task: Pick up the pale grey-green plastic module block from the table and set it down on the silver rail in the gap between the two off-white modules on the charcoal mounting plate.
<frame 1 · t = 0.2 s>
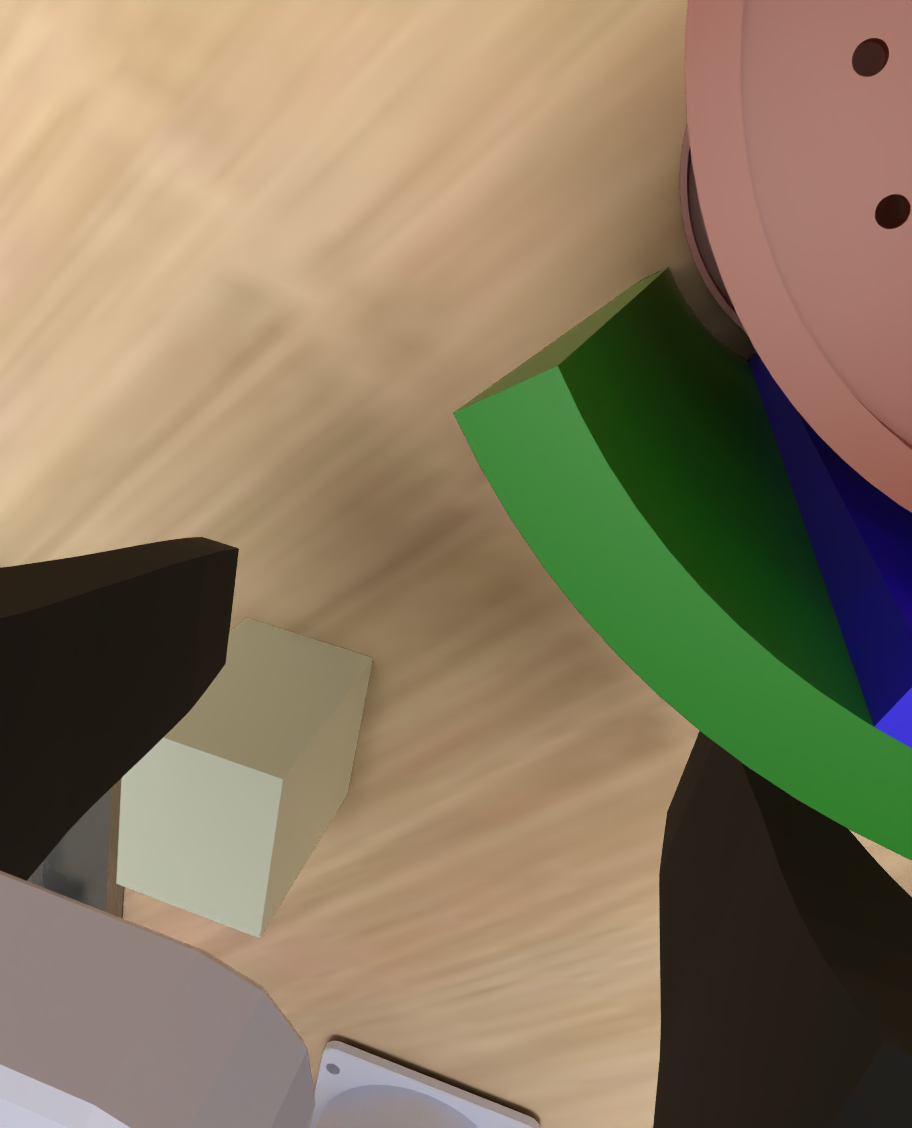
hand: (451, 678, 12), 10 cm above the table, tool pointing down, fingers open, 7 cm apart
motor: (903, 182, 17), on the table
module block: (298, 707, 26), on the table
rail board: (13, 784, 30), on the table
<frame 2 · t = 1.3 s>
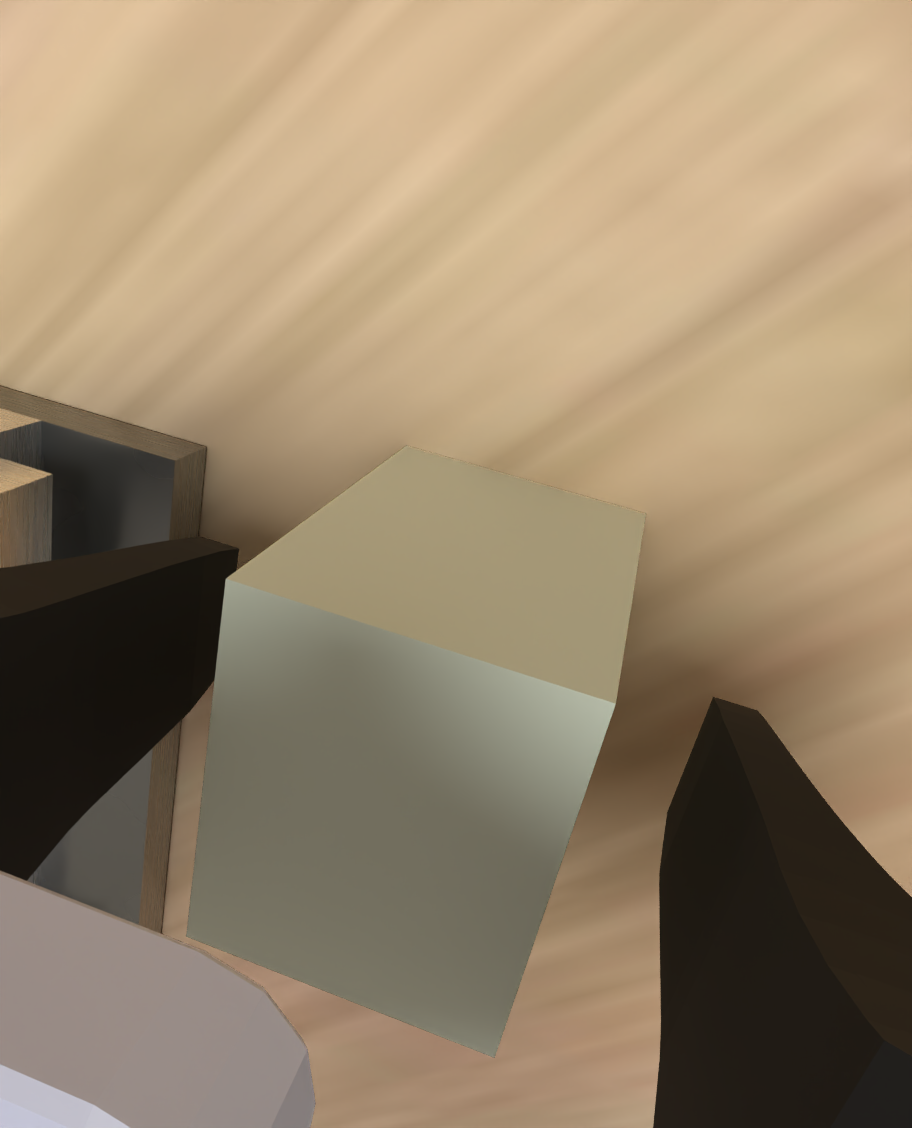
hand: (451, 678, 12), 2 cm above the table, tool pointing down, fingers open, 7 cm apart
module block: (489, 613, 15), on the table
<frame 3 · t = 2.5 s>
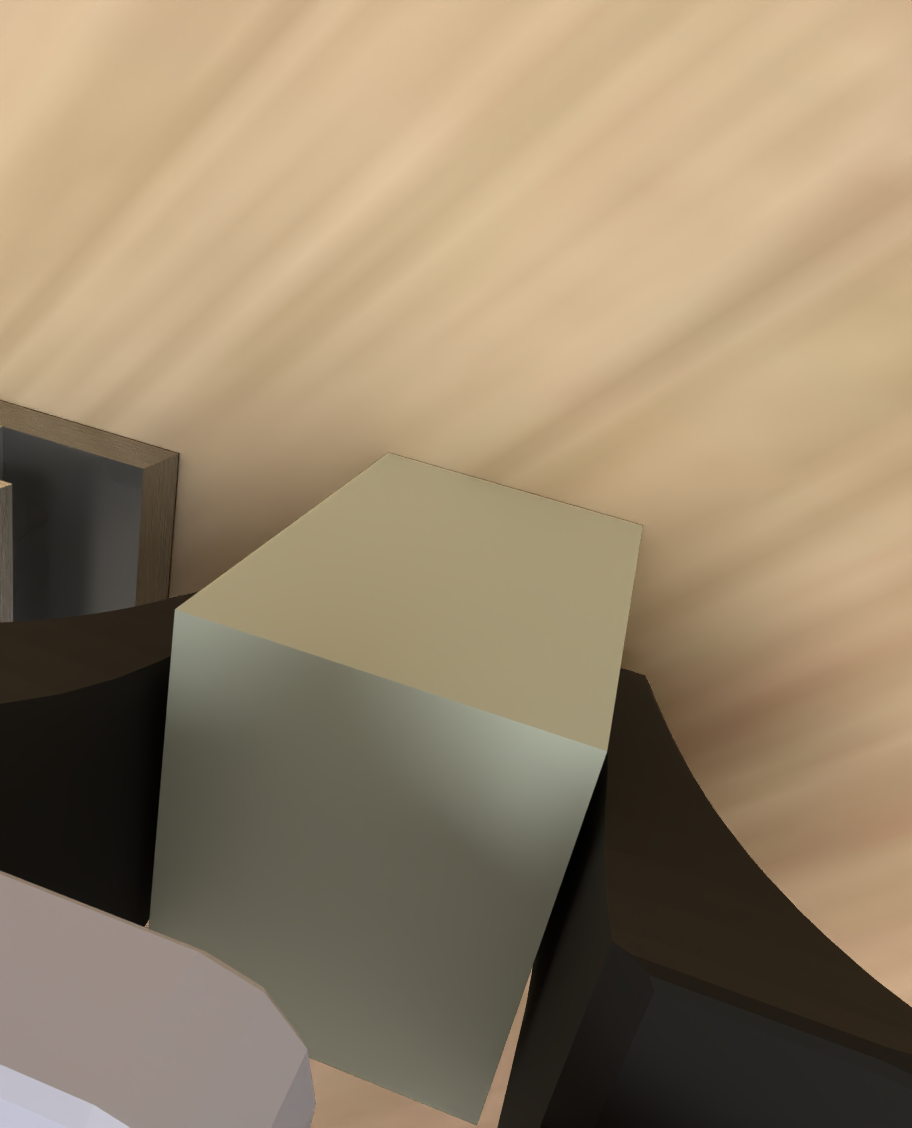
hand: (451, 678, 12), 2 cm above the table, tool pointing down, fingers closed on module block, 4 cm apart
module block: (476, 630, 14), on the table, touching gripper
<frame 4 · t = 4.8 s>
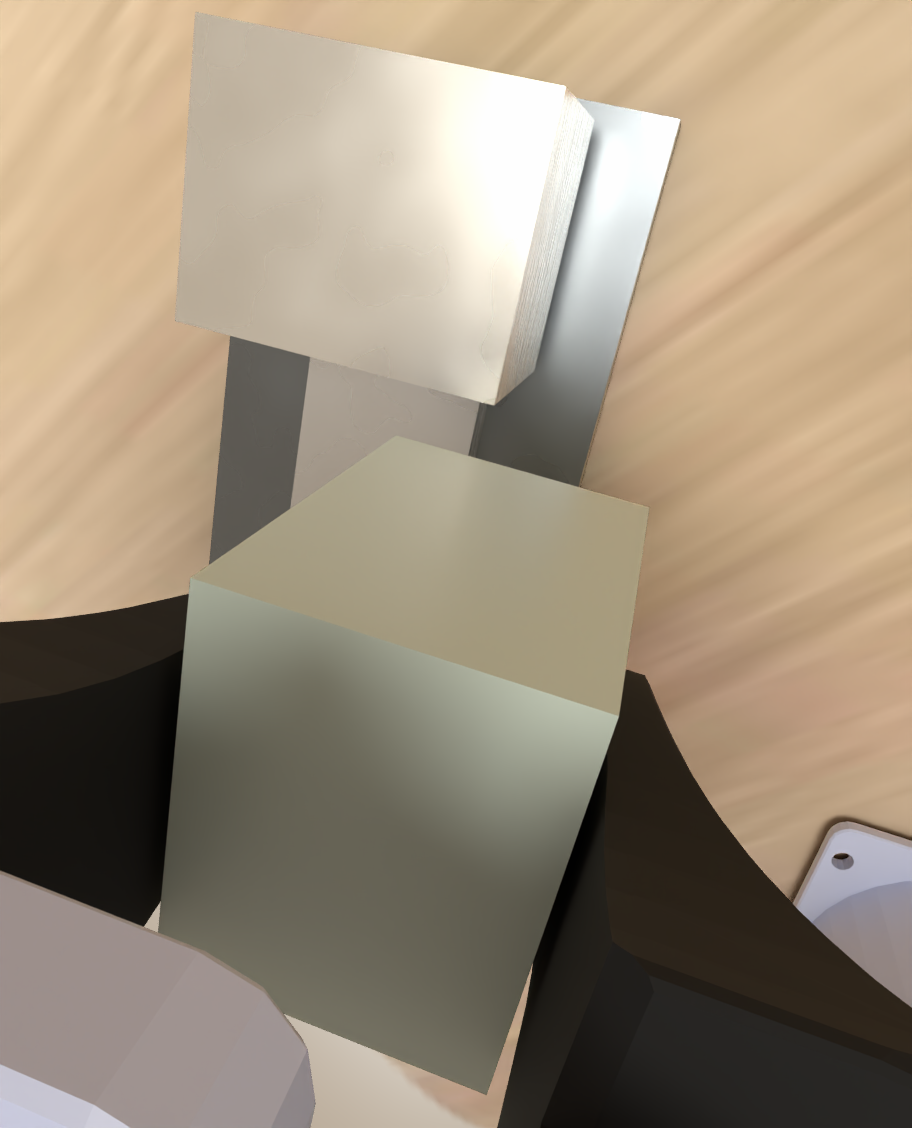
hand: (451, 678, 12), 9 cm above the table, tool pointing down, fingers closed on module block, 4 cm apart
module block: (483, 613, 14), point 8 cm above the table, touching gripper
rail board: (402, 458, 21), on the table
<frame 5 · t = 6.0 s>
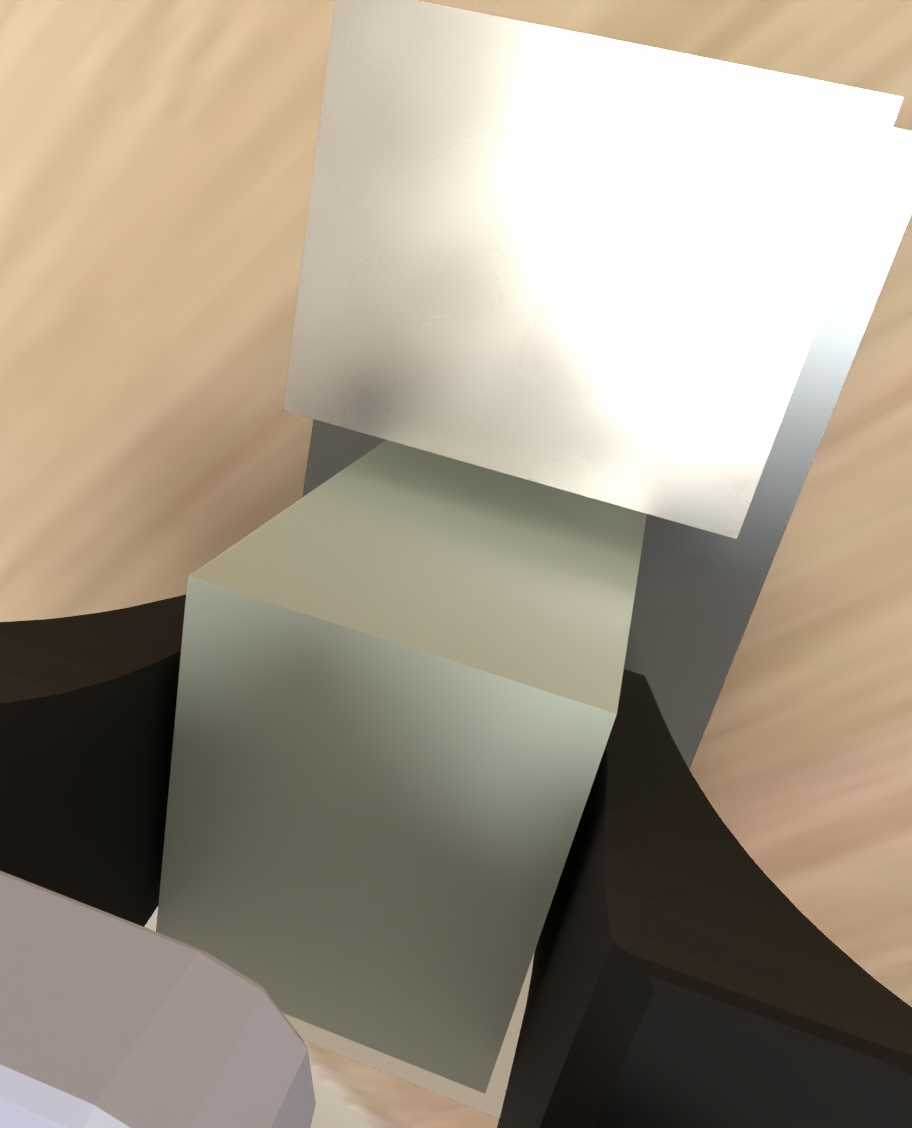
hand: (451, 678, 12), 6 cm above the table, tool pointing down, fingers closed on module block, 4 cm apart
module block: (482, 612, 14), point 4 cm above the table, touching gripper
rail board: (522, 547, 17), on the table
when the fingers open (4 cm above the table, at t = 7.2 s): module block stays where it is, resting on rail board.
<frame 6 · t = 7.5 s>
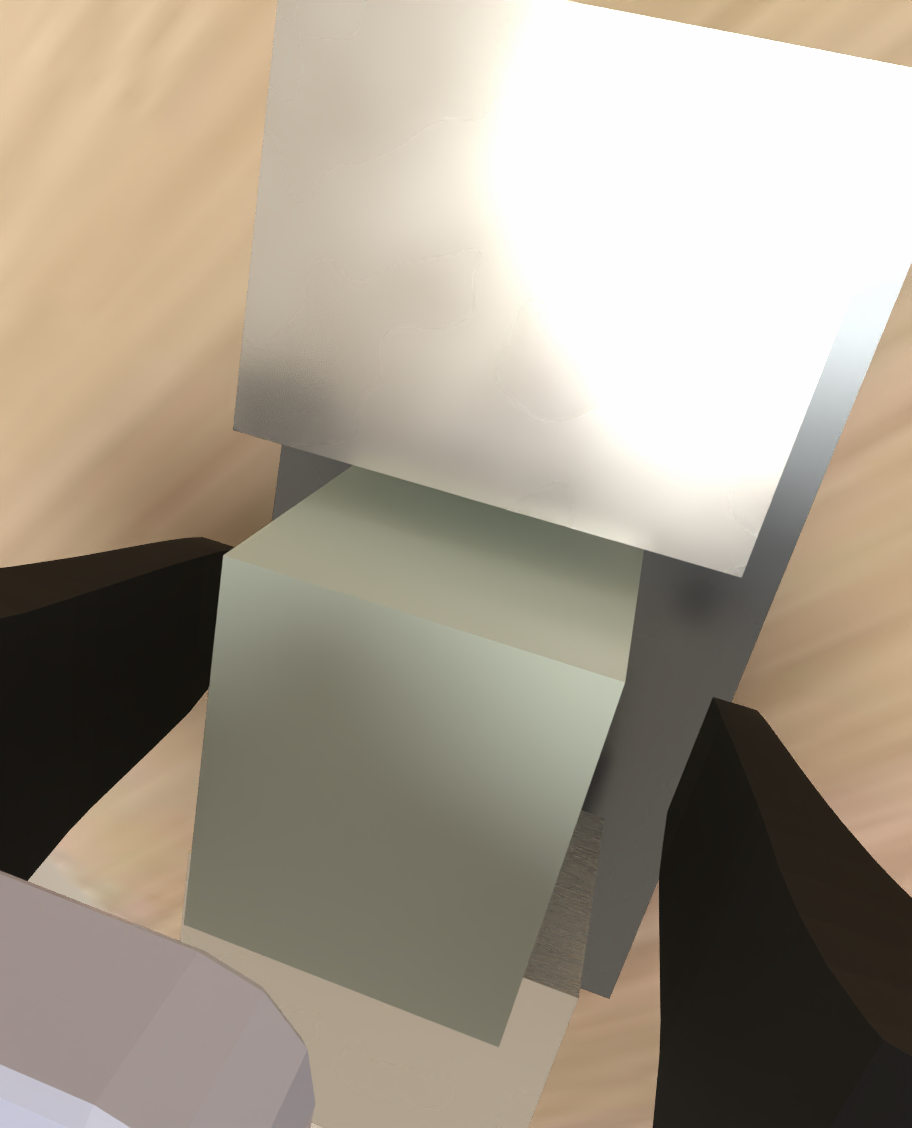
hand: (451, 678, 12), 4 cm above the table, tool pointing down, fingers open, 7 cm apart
module block: (491, 599, 14), point 2 cm above the table, touching rail board
rail board: (509, 569, 16), on the table
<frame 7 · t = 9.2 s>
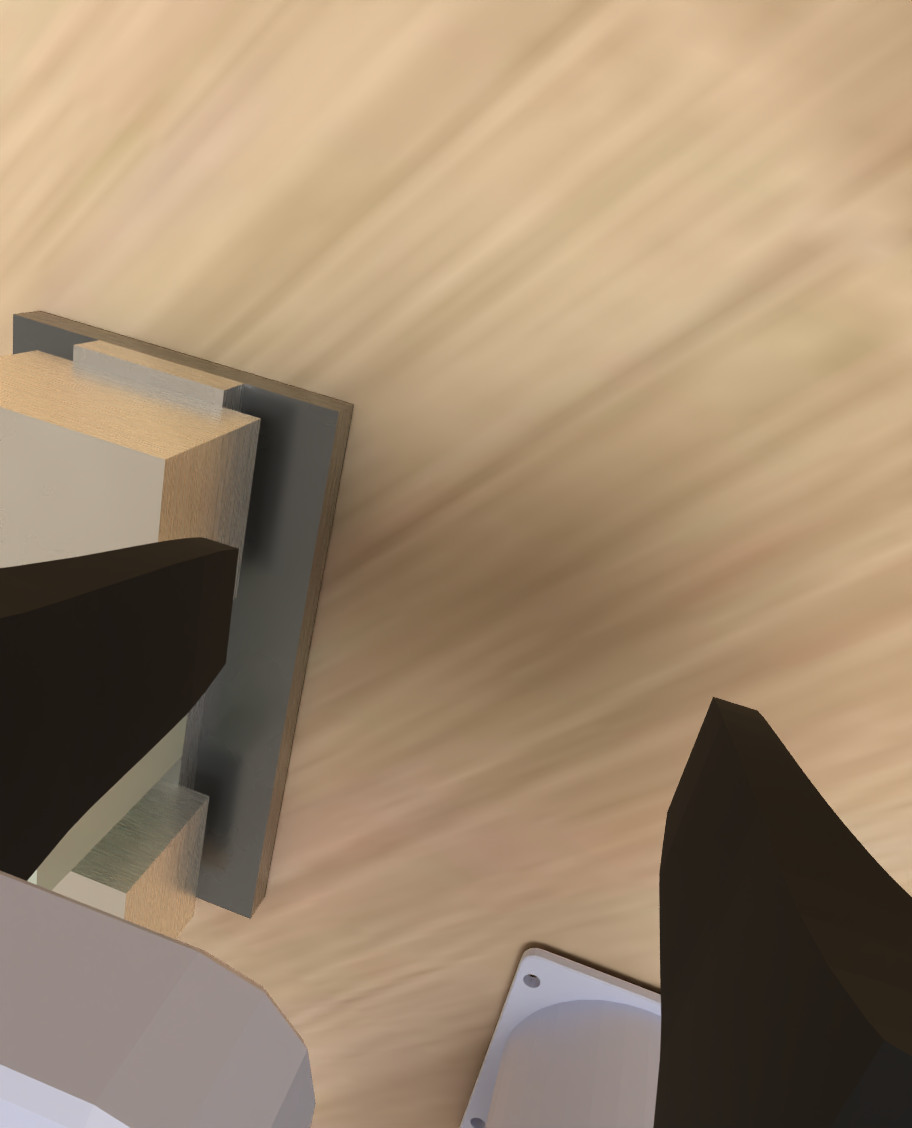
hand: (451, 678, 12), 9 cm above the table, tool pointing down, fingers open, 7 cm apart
module block: (125, 660, 23), point 2 cm above the table, touching rail board
rail board: (164, 636, 25), on the table
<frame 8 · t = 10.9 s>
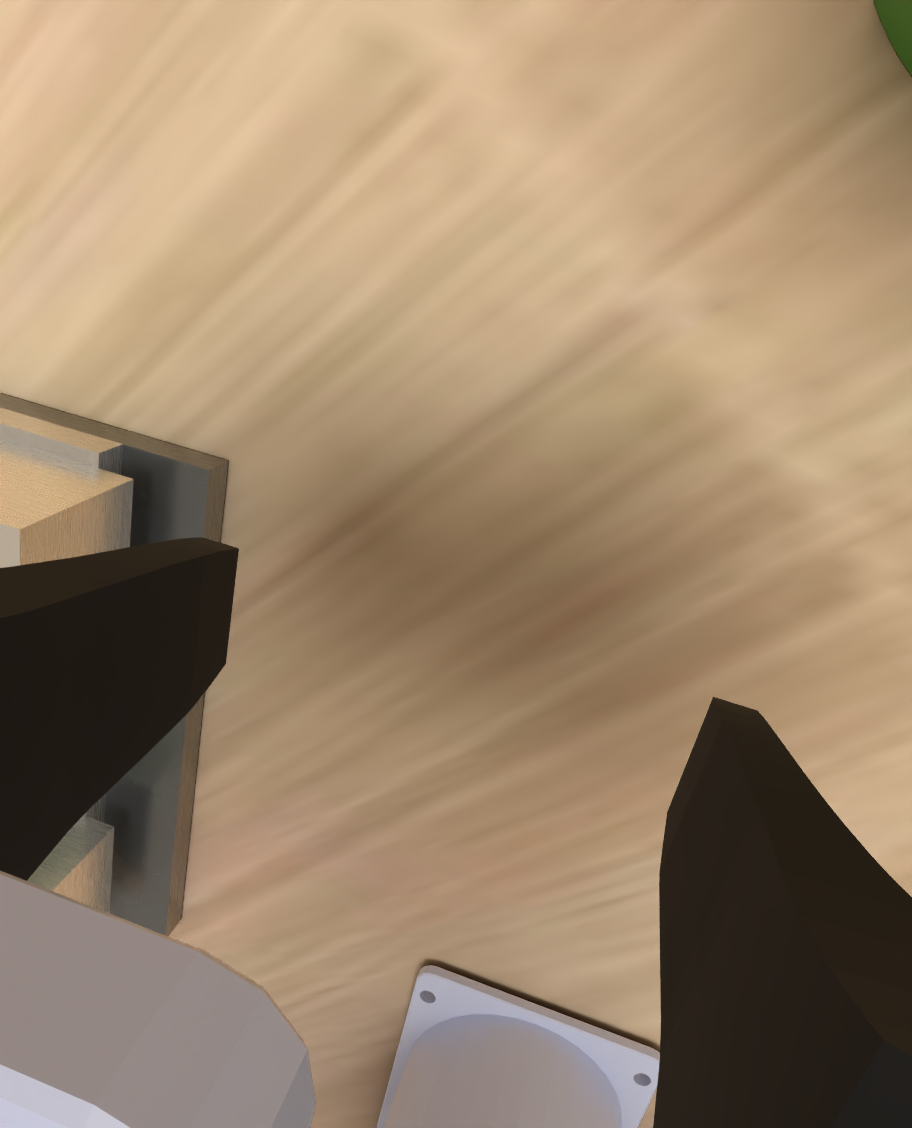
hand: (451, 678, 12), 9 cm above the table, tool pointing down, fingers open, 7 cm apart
rail board: (73, 675, 27), on the table
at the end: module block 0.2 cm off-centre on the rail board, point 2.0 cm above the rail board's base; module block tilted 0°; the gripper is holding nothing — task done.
